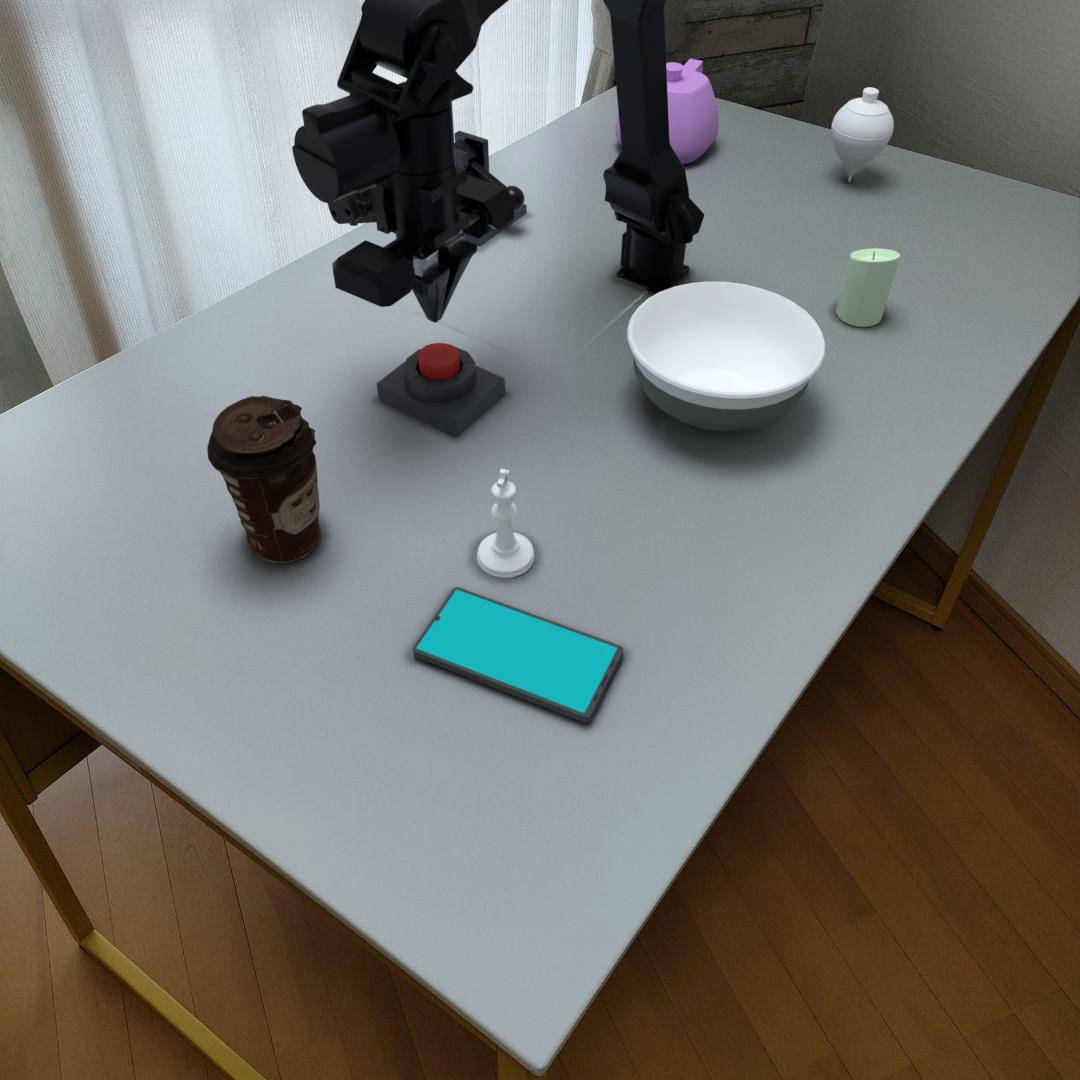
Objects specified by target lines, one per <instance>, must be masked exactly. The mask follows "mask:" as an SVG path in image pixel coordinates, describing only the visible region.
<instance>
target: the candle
mask: <svg viewBox="0 0 1080 1080" xmlns="http://www.w3.org/2000/svg"><path fill="white" fill-rule="evenodd" d="M900 258H901V254H900V253H899V252H898V251H896V250H894V249H893V250H892V249H887V248H877V247H876V248H875V247H874V248H863V249H857V250H855V251H853V252H851V253H850V255H849V259H848V263H847V265H846V266H847V267H846V269H845V273H844V278H843V282H842V286H841V290H840V294H839V297H838V302H837V305H836V309H835V313H836V315H837V317H838V318H839V320H840V321H842V322H843V323H846V324H847V325H850V326H853V327H858V328H868V327H873V326H876V325H877V324H879V323H881V320H882V318H883V315H884V312H885V308H886V305H887V302H888V299H889V295H890V291H891V289H892V286H893V281H894V278H895V275H896V272H897V269H898V265H899V261H900Z"/></svg>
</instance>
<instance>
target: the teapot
mask: <svg viewBox="0 0 1080 1080" xmlns="http://www.w3.org/2000/svg"><path fill="white" fill-rule="evenodd" d="M703 66H704V61H703V60H700V59H695V58H689V59H688V60H687V61H686V62H685V64H684V65H683V64H681V63H679V62H673V61H669V62H666V68H667V93H668V117H669V141H670V145H671V147H672V148H673V150H674V152H675V153H676V155H677V157H678V158H679V160H680V162H681V163H682V165H686V164H690V163H693V162H695V161H696V160H698V159H699V158H700V157H702V155H704V154H705V153H706V152H707V151H708V149H709V148H710V147H711V145H712V144H713V143H714V142H715V140H716V138H717V136H718V133H719V109H718V104H717V99H716V95H715V92H714V89H713V87H712V84H711V82H710V79H709V78H708V76H707V75H705V74H704V73H703ZM614 131H615V132H614V133H615V136H616V139H617V141H618V143H619V145H620V146H621V136H620V124H619V113H618V114H617V118H616V123H615V130H614Z"/></svg>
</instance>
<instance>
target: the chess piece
mask: <svg viewBox="0 0 1080 1080" xmlns="http://www.w3.org/2000/svg"><path fill="white" fill-rule="evenodd" d="M510 473H511V470H509V469H505V468H500V471H499V478H498V480H497V482H495V483H494V484H493V485H492V487H491V489H490V490H491V491H490V492H491V495H492V497H493V498H494V500H495V503H494V504H493V505H492V508H491V515H492V517H494V519H497V528H496V532H493V533H492V534H491V533H490V534H489V535H487V536H486V537H485V538H484V539H483V540H482V541H481V542H480V544H479V546H478V547H477V554H476V560H477V563H478V566H479V567H480V569H481V570H482V571H484V572H485V573H487V574H488V575H490V576H492V577H495V578H501V579H502V578H503V579H509V578H514V577H518V576H520V575H522V574H524V573H526V572H527V571H529V569H531V567H532V566H533V564H534V562H535V552H534V547H533V544H532V542H531V541H530V539H528V538H527V537H526V536H524V535H523V534H521V533H519V532H515V531H514V529H513V524H512V519H514V518H515V517H516V516H517V515H518V507H517V505H516V504H515V503H514V502H513V501H514V498H515V496H516V495H517V486H516V485H515V483H513V482H511V481H508V478H509V477H510V475H511V474H510Z"/></svg>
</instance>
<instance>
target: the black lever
mask: <svg viewBox="0 0 1080 1080" xmlns="http://www.w3.org/2000/svg"><path fill="white" fill-rule="evenodd" d="M454 145H455V148H456V149H459V150H462V151H465V152H468V166H469V171H470V172H471V173H472V174H473V175H474V176H476V177H477V178H478V179H480V180H483V181H486V182H489V183H492V184H495V185H498V186H501V187H504V188H506V190H507V191H508V192H509V194H510V195H511V197H512V198H513V200H514V212H516V211H518V210H520V209H521V208H522V206H523V204H525V193H524V192H523V190H522V189H521V188H520V187H519V186H517V185H509V186H506V185H505V184H504V183H503V182H502V181H500V179H498V178H497V177H496V176H494V174H492V173H491V172H490V171H489V172H488V171H487V170H486V169H485V168H484V167H482V166H481V165H480V164H479V163H478V162H476V159H477V156H478V152H476V151H475V150H474V149H473V148H472V147H470V146H469V145H468V144H467V143H466V142H464V141H463V140H462V139H460V140H459V141H457V142H455V141H454Z"/></svg>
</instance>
